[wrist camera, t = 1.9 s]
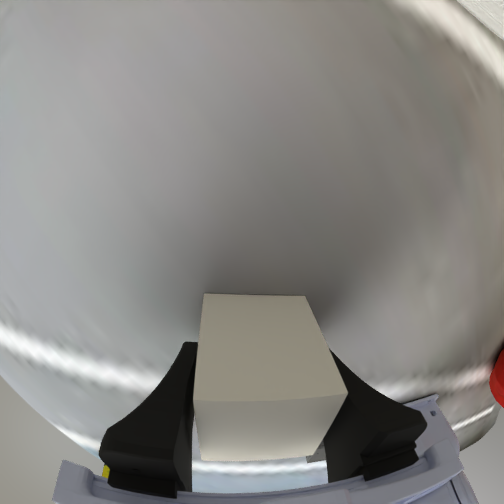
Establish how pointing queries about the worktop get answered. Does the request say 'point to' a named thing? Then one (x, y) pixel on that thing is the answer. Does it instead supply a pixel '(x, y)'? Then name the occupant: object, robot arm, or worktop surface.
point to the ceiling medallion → (487, 13)
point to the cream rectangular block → (263, 379)
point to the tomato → (498, 380)
